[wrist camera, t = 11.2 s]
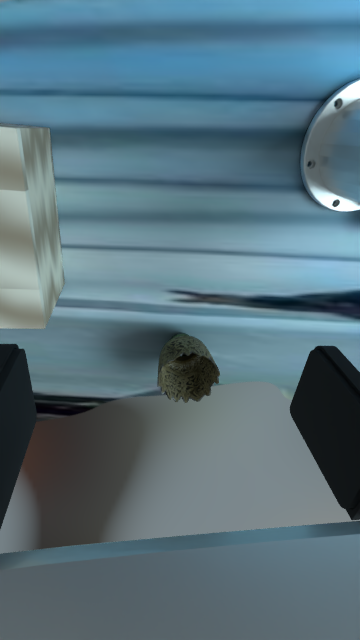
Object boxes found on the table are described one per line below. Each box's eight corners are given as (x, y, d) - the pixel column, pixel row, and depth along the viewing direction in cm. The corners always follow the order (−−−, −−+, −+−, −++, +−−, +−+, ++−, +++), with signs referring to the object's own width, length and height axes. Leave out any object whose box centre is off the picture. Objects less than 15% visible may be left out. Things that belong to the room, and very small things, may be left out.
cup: (170, 310, 42) (177, 346, 35) (216, 331, 44) (231, 368, 38) (144, 352, 45) (146, 393, 38) (189, 369, 47) (198, 410, 41)
